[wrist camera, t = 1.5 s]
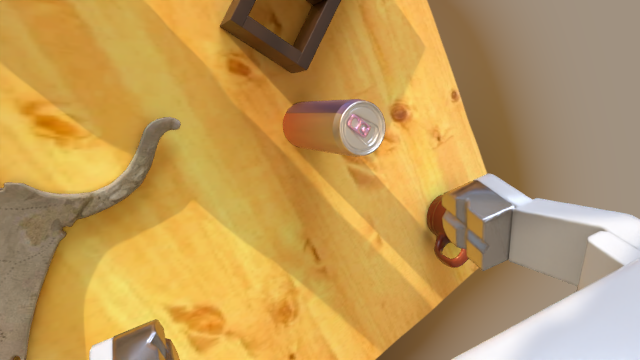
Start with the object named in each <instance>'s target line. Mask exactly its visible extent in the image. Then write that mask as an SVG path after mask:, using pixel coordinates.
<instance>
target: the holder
mask: <svg viewBox="0 0 640 360" xmlns="http://www.w3.org/2000/svg"><path fill="white" fill-rule="evenodd" d="M255 1H256V0H233V1H232V3H231V5H230V7H229V9H228V11H227V13H226V15H225V17H224V19H223V21H222V23H221V25H220V27H221V28H223V29H224V30H226V31H228V32H229V33H231V34H232V35H234V36H235V37H237V38H238V39H240V40H241V41H243V42H245V43H246V44H248V45H249V46H251V47H252V48H254V49H255V50H257V51H258V52H260V53H262V54H263V55H265V56H266V57H268V58H269V59H271V60H272V61H274V62H275V63H277V64H278V65H280V66H282V67H283V68H285V69H286V70H288V71H289V72H291V73H295V72H301V71H306V70H307V69H308V67H309V65H310V63H311V61H312V59H313V57H314V55H315V53H316V51H317V48H318V46H319V44H320V42H321V40H322V38H323V36H324V34H325V32H326V30H327V28H328V26H329V24H330V22H331V20H332V18H333V16H334V14H335V11H336V9H337V7H338V5H339V3H340V1H341V0H306V1H307V2H309V3H310V4H311V5H313V6H312V8H311V10H310V12H309V14H308V16H307V18H306V20H305V23H304V25H303V27H302V29H301V31H300V33H299V35H298V37H297V39H296V41H295V43H294V45H293V46H292V45H290V44H289V43H287V42H286V41H284V40H283V39H281V38H280V37H278V36H277V35H276V34H274V33H273V32H271V31H270V30H268V29H267V28H265V27H264V26H262V25H261V24H259V23H258V22H257V21H255V20H254V19H252V18H251V17H249V16H248V15H249V13H250V11H251V9H252V7H253V5H254V3H255Z"/></svg>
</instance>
